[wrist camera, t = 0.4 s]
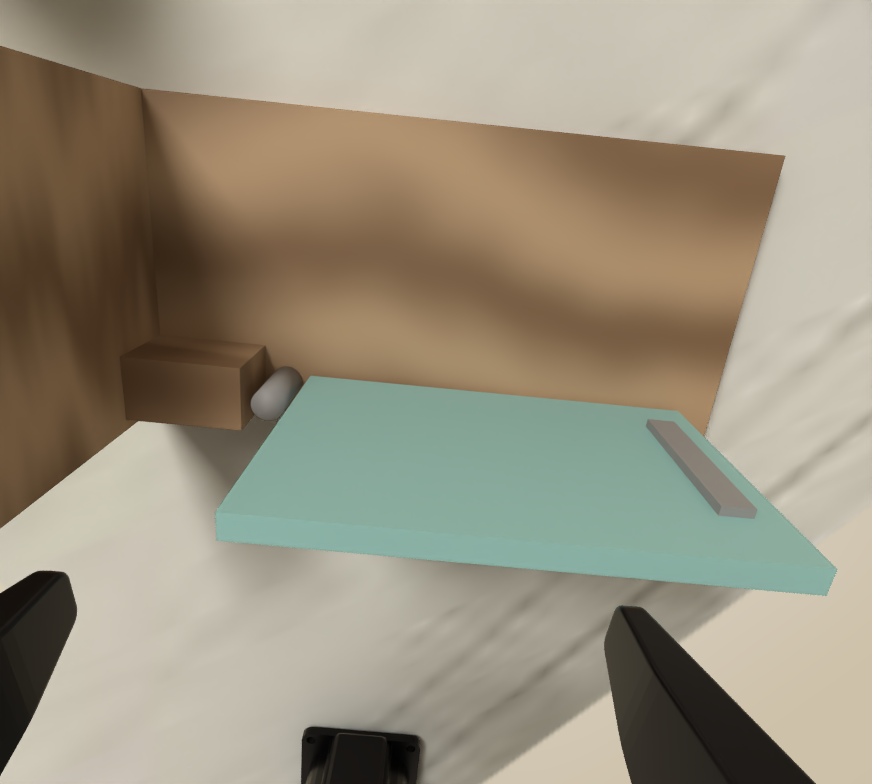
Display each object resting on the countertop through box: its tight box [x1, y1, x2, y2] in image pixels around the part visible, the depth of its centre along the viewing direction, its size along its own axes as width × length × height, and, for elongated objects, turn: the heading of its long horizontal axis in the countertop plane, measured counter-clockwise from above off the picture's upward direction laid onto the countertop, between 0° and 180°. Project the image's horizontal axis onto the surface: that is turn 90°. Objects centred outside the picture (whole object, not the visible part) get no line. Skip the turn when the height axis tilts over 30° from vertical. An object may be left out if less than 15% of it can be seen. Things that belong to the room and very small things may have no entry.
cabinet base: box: [0, 46, 785, 528], centre depth 17 cm, size 12×24×12 cm, turn 84°
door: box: [215, 366, 837, 596], centre depth 18 cm, size 1×17×10 cm, turn 85°
